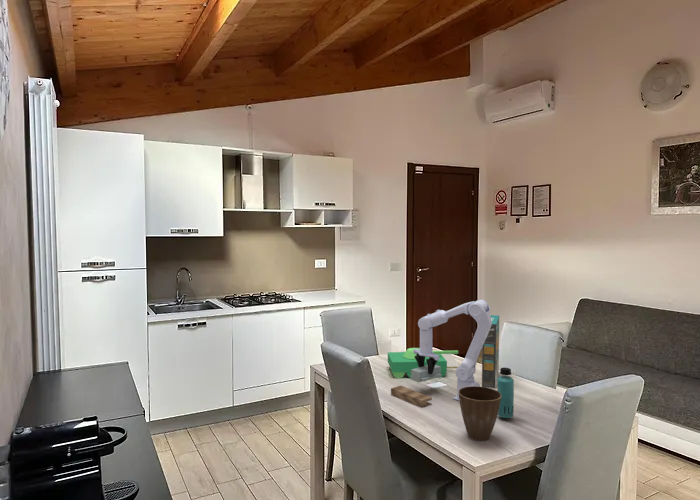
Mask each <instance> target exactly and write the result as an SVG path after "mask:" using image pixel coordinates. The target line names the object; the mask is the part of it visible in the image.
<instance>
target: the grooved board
mask: <svg viewBox="0 0 700 500" xmlns="http://www.w3.org/2000/svg"><path fill="white" fill-rule="evenodd" d="M390 395H391V396H393V397H395V398H398V399H400V400H402V401H405V402H406V403H407V402H408V403H409V404H411V405H414V406H417V407H419V408H425V407H428V406H431V405H432V403H431V402H430V401H432V397H431V396H429V395H427V394H423V393H421V392H419V391H416V390H413V389H412V388H408V387H406V386H403V385H398V386H394V387H391V388H390Z"/></svg>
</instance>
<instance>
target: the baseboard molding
mask: <svg viewBox="0 0 700 500" xmlns="http://www.w3.org/2000/svg"><path fill="white" fill-rule="evenodd" d="M439 350H442V348H439ZM432 351H438V349H433V348H432ZM448 351H451V350H450V349H448ZM441 355H442V356H443V357H444V358H445V360H446V361H447V369H457V368H458V367H460V365H459V363H458V362H457V360H456V358H455V357H454V354H441Z"/></svg>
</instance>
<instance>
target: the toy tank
mask: <svg viewBox="0 0 700 500" xmlns="http://www.w3.org/2000/svg"><path fill="white" fill-rule="evenodd" d="M413 349H419V350H420V347H409V348H407V349H406V350H405V351H394V352H393V351H392V352H389V351H388V352H387V363H388V366H389V368H390V370H391V372H392V375H393V377H395V378H396V379H402V378H403V377H404V376H405V374H406V375H407V377H408V378H410V379H411V370H412V369H415V368H419V367H418V363H417V361H416V359H415V356H416V355H417V354H413ZM432 352H433V353H435V354H437V355H439V360H438V361H437V362H436V364H435V365H437V366H440V367H441V374H442V376H441V377H440V378H443V377H445V376H446V375H447V372H448V368H447V361H446V360H445V358H444V357H443V356H442V355H441V354H452V355H458V354H459V350H432ZM426 359H429V358H428V357H425V362H424V366H427V361H426Z"/></svg>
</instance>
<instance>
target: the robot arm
mask: <svg viewBox="0 0 700 500" xmlns="http://www.w3.org/2000/svg"><path fill="white" fill-rule="evenodd" d="M461 314H465V315H467V316H468V315H469V316H470V317H472V318H473V319H474V320H475V321H476V323H477V327H476V330H475V333H474V335H473V337H472V340H471V343H470V345H469V346H468V349H467V352H466V355H465V357H464V359H463V360H462V362H461V363H460V365H459V366H460V367H458V368H455V369H456V370H455V376H456V378H457V379H456V380H457V381H456V385H457V386H456V395H455V396H452V399H453V400H456V401H459V402H460V400H459V392H458V391H459V390H460V389H461V388H464V387H470V386H479V387H481V386H480V383H479V382H477V381H476V380H475V376H474V374H475V373H476V370H477V368H476V366H477V363H478V362H477V360H478V359H479V358H478V357H479V355H480V353H481V352H482V346H483V344H484V342H485V339H486V337H487V335H488V332H489V330H490V328H491V325H492V321H491V315H492V314H491V307H490V306H489V303H488V302H487V301H486V300H484V299H477V300H476V301H474V300H473V301H469V302H465V303H463V304H460V305H457V306H455V307H453V308H451V309H449V310H443V309H437V310H435V312H433V313H427V315H425V316H422V317H421V318H419V319H418V322H417V325H418V328H419V348H420V350H419V349H413V354H417V355H416V356H415V359H416V361H417V363H418V367H423V366H424V362H425V357H428V358H429V359H426V361H427V365H428V374H433V370H434V367H435V364H436V362H437V361H438V360H439V355H437V354H435V353H433V352H432V351H433V350H432V349H433V337H434V336H433V335H434V334H433V328H434V327H438V326H439V325H443V324H445V323H447V322H448V321H449V319H451V318H453V317H455V316H458V315H461Z"/></svg>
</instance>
